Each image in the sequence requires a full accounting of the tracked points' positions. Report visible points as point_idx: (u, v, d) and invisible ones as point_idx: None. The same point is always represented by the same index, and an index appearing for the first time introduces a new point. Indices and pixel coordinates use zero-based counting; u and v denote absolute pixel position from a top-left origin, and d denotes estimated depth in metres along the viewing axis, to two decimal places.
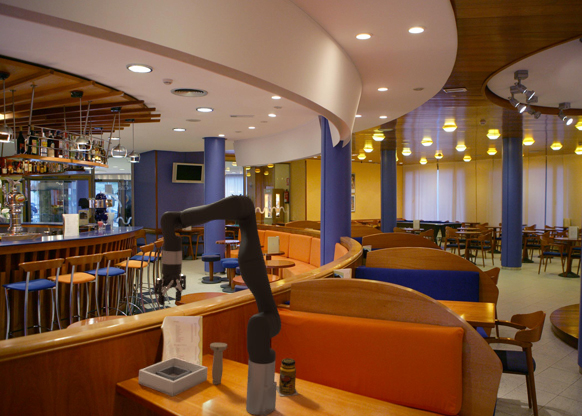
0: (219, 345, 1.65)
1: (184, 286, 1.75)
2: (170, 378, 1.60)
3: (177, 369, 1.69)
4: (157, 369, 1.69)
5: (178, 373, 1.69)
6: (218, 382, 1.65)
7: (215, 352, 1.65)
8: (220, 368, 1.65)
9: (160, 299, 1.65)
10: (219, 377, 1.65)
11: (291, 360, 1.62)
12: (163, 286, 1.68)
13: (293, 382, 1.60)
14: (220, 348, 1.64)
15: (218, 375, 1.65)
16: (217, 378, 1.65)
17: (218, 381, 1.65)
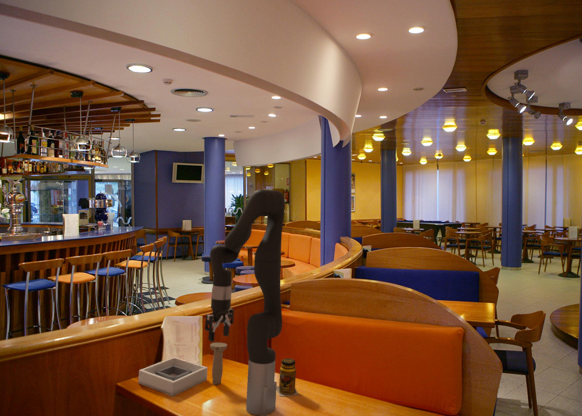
0: (219, 345, 1.65)
1: (232, 320, 1.71)
2: (170, 378, 1.60)
3: (177, 369, 1.69)
4: (157, 369, 1.69)
5: (178, 373, 1.69)
6: (218, 382, 1.65)
7: (215, 352, 1.65)
8: (220, 368, 1.65)
9: (210, 335, 1.61)
10: (219, 377, 1.65)
11: (291, 360, 1.62)
12: (212, 321, 1.64)
13: (293, 382, 1.60)
14: (220, 348, 1.64)
15: (218, 375, 1.65)
16: (217, 378, 1.65)
17: (218, 381, 1.65)
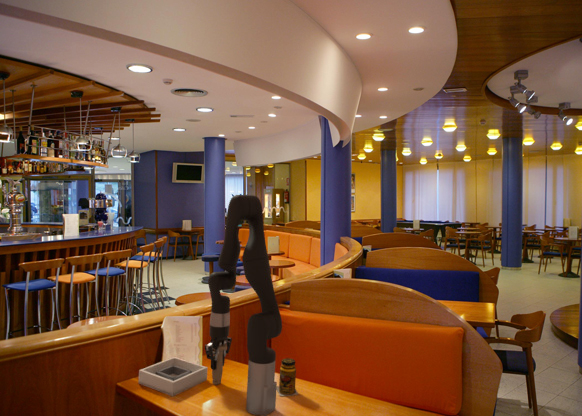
0: None
1: (228, 350, 1.70)
2: (170, 378, 1.60)
3: (177, 369, 1.69)
4: (157, 369, 1.69)
5: (178, 373, 1.69)
6: (218, 382, 1.65)
7: None
8: (220, 368, 1.65)
9: (212, 364, 1.63)
10: (219, 377, 1.65)
11: (291, 360, 1.62)
12: None
13: (293, 382, 1.60)
14: (220, 348, 1.64)
15: (218, 375, 1.65)
16: (217, 378, 1.65)
17: (218, 381, 1.65)
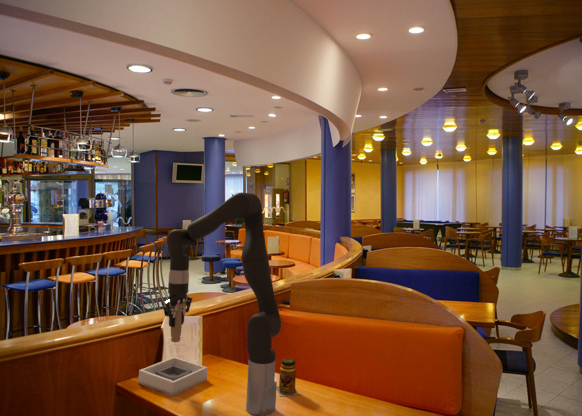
0: None
1: (188, 308, 1.69)
2: (170, 378, 1.60)
3: (177, 369, 1.69)
4: (157, 369, 1.69)
5: (178, 373, 1.69)
6: (177, 340, 1.64)
7: None
8: (178, 326, 1.64)
9: (170, 321, 1.62)
10: (177, 335, 1.64)
11: (291, 360, 1.62)
12: None
13: (293, 382, 1.60)
14: (178, 305, 1.63)
15: (177, 332, 1.64)
16: (175, 336, 1.64)
17: (177, 339, 1.64)
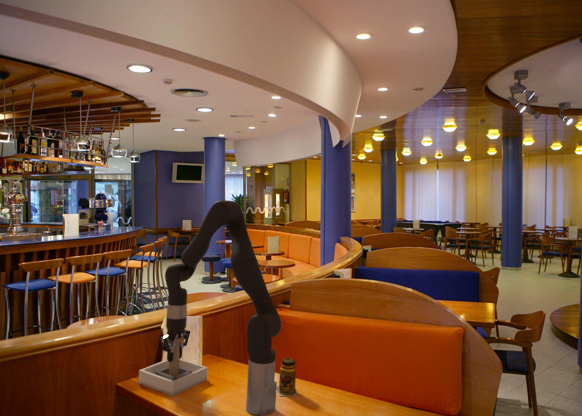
0: None
1: (186, 342, 1.69)
2: (170, 378, 1.60)
3: None
4: (157, 369, 1.69)
5: (178, 373, 1.69)
6: (175, 374, 1.65)
7: None
8: (177, 360, 1.64)
9: (168, 356, 1.63)
10: (176, 369, 1.64)
11: (291, 360, 1.62)
12: None
13: (293, 382, 1.60)
14: (176, 340, 1.63)
15: (175, 367, 1.64)
16: (173, 370, 1.64)
17: (175, 373, 1.64)
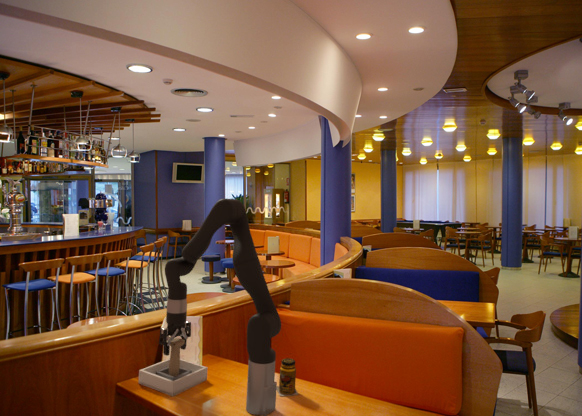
0: (176, 341, 1.65)
1: (189, 333, 1.70)
2: (170, 378, 1.60)
3: None
4: (157, 369, 1.69)
5: None
6: None
7: (172, 348, 1.64)
8: (177, 364, 1.64)
9: (165, 349, 1.61)
10: (176, 373, 1.64)
11: (291, 360, 1.62)
12: (168, 335, 1.64)
13: (293, 382, 1.60)
14: (177, 344, 1.63)
15: (175, 371, 1.64)
16: (173, 374, 1.64)
17: None
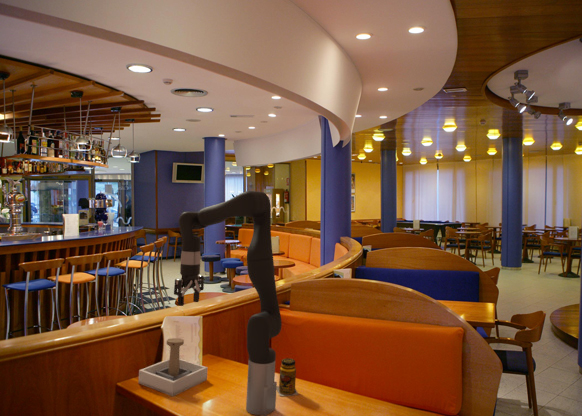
0: (176, 341, 1.65)
1: (202, 287, 1.74)
2: (170, 378, 1.60)
3: None
4: (157, 369, 1.69)
5: (178, 373, 1.69)
6: None
7: (171, 348, 1.64)
8: (176, 364, 1.64)
9: (179, 300, 1.64)
10: (175, 373, 1.64)
11: (291, 360, 1.62)
12: (182, 287, 1.67)
13: (293, 382, 1.60)
14: (176, 344, 1.63)
15: (174, 371, 1.64)
16: (173, 374, 1.64)
17: None
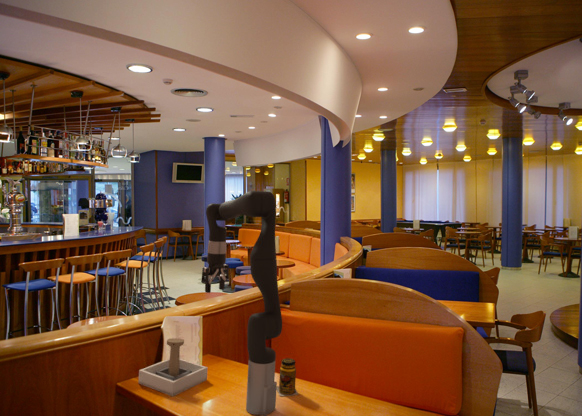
0: (176, 341, 1.65)
1: (227, 275, 1.83)
2: (170, 378, 1.60)
3: None
4: (157, 369, 1.69)
5: None
6: None
7: (171, 348, 1.64)
8: (176, 364, 1.64)
9: (207, 287, 1.73)
10: (175, 373, 1.64)
11: (291, 360, 1.62)
12: (209, 275, 1.76)
13: (293, 382, 1.60)
14: (176, 344, 1.63)
15: (175, 371, 1.64)
16: (173, 374, 1.64)
17: None
